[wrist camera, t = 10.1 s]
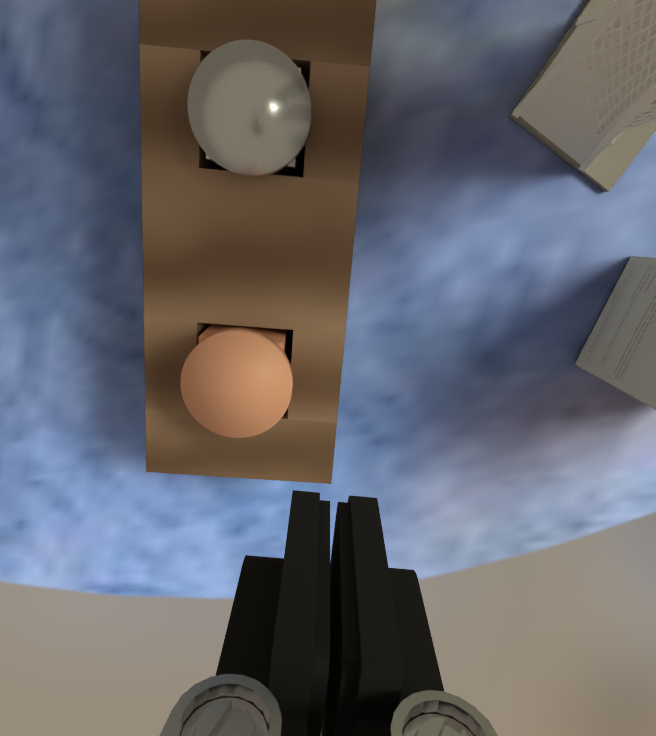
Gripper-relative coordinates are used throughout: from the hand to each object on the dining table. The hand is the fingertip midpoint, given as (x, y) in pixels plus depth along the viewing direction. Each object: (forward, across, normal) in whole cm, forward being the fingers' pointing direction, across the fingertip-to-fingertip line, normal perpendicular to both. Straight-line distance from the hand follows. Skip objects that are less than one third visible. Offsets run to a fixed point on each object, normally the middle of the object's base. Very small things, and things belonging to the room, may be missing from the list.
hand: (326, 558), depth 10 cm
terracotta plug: (+20, +4, +2) cm, 21 cm away
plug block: (+22, +4, -4) cm, 22 cm away
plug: (+22, +5, -10) cm, 24 cm away
